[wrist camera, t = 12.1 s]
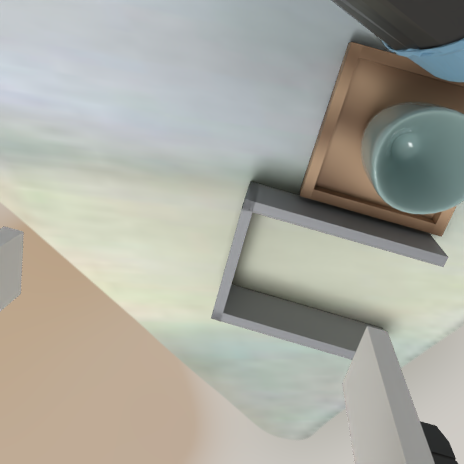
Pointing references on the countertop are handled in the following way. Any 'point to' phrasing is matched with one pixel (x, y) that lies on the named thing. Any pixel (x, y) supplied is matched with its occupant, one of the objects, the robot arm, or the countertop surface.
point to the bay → (296, 315)
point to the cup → (415, 156)
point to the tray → (354, 123)
